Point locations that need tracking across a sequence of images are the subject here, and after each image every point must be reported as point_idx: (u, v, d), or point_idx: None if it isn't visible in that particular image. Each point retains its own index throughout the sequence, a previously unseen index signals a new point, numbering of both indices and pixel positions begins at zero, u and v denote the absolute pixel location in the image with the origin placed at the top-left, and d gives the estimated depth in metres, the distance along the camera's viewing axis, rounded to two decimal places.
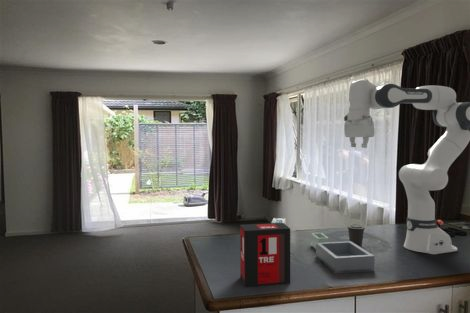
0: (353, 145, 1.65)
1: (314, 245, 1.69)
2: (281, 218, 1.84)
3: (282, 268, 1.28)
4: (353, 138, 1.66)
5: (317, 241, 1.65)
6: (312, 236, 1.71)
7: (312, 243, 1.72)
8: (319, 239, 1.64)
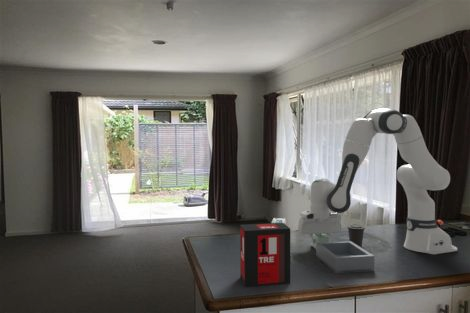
0: None
1: (314, 245, 1.69)
2: (281, 218, 1.84)
3: (282, 268, 1.28)
4: None
5: (317, 241, 1.65)
6: (312, 236, 1.71)
7: (312, 243, 1.72)
8: (319, 239, 1.64)
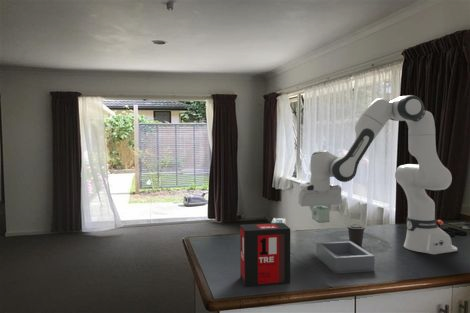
0: None
1: (315, 217, 1.68)
2: (281, 218, 1.84)
3: (282, 268, 1.28)
4: None
5: (318, 213, 1.64)
6: (313, 209, 1.71)
7: (312, 216, 1.72)
8: (320, 210, 1.63)
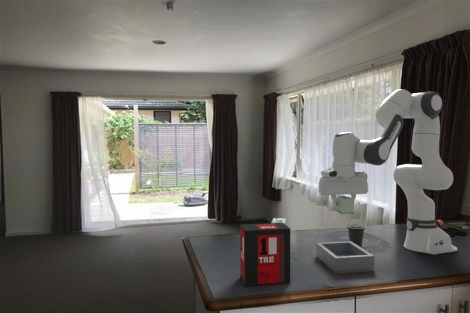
0: None
1: (337, 208, 1.48)
2: (281, 218, 1.84)
3: (282, 268, 1.28)
4: None
5: (341, 202, 1.44)
6: None
7: (333, 207, 1.51)
8: (343, 200, 1.43)
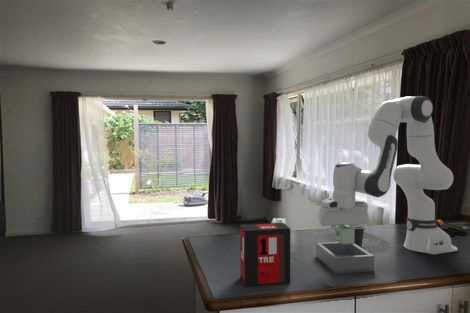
0: None
1: (337, 237, 1.48)
2: (281, 218, 1.84)
3: (282, 268, 1.28)
4: None
5: (341, 233, 1.44)
6: None
7: (334, 236, 1.51)
8: (344, 231, 1.43)
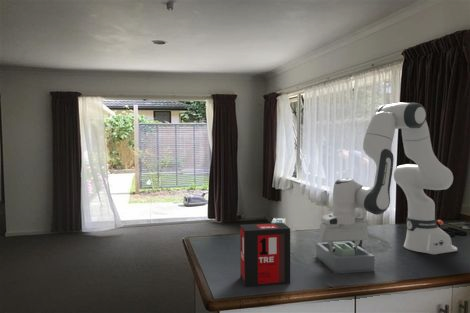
0: None
1: None
2: (281, 218, 1.85)
3: (282, 268, 1.28)
4: None
5: (341, 253, 1.44)
6: (335, 247, 1.51)
7: None
8: (344, 251, 1.43)
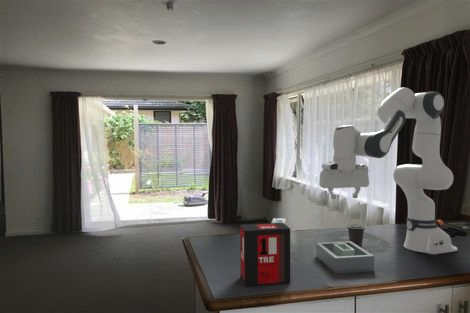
0: None
1: None
2: (281, 218, 1.85)
3: (282, 268, 1.28)
4: None
5: (341, 253, 1.44)
6: (335, 247, 1.51)
7: None
8: (344, 251, 1.43)
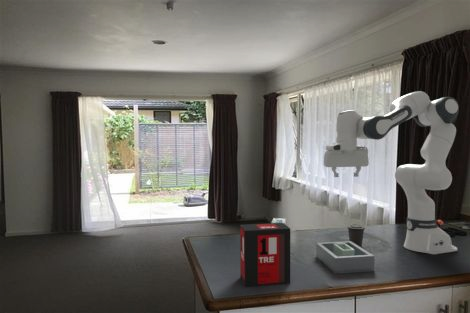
0: None
1: None
2: (281, 218, 1.85)
3: (282, 268, 1.28)
4: None
5: (341, 253, 1.44)
6: (335, 247, 1.51)
7: None
8: (344, 251, 1.43)
